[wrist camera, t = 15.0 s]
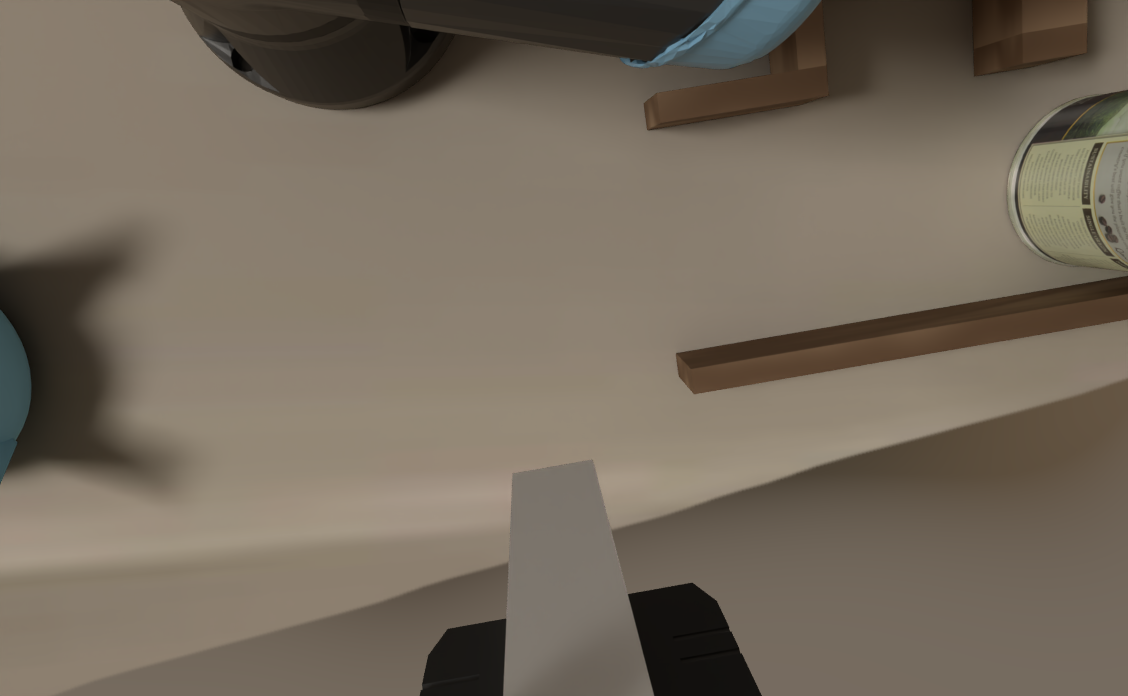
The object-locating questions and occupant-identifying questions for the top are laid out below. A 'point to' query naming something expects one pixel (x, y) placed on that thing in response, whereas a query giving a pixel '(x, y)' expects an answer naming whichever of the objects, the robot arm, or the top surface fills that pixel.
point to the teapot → (12, 390)
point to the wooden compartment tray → (799, 75)
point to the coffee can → (1075, 184)
